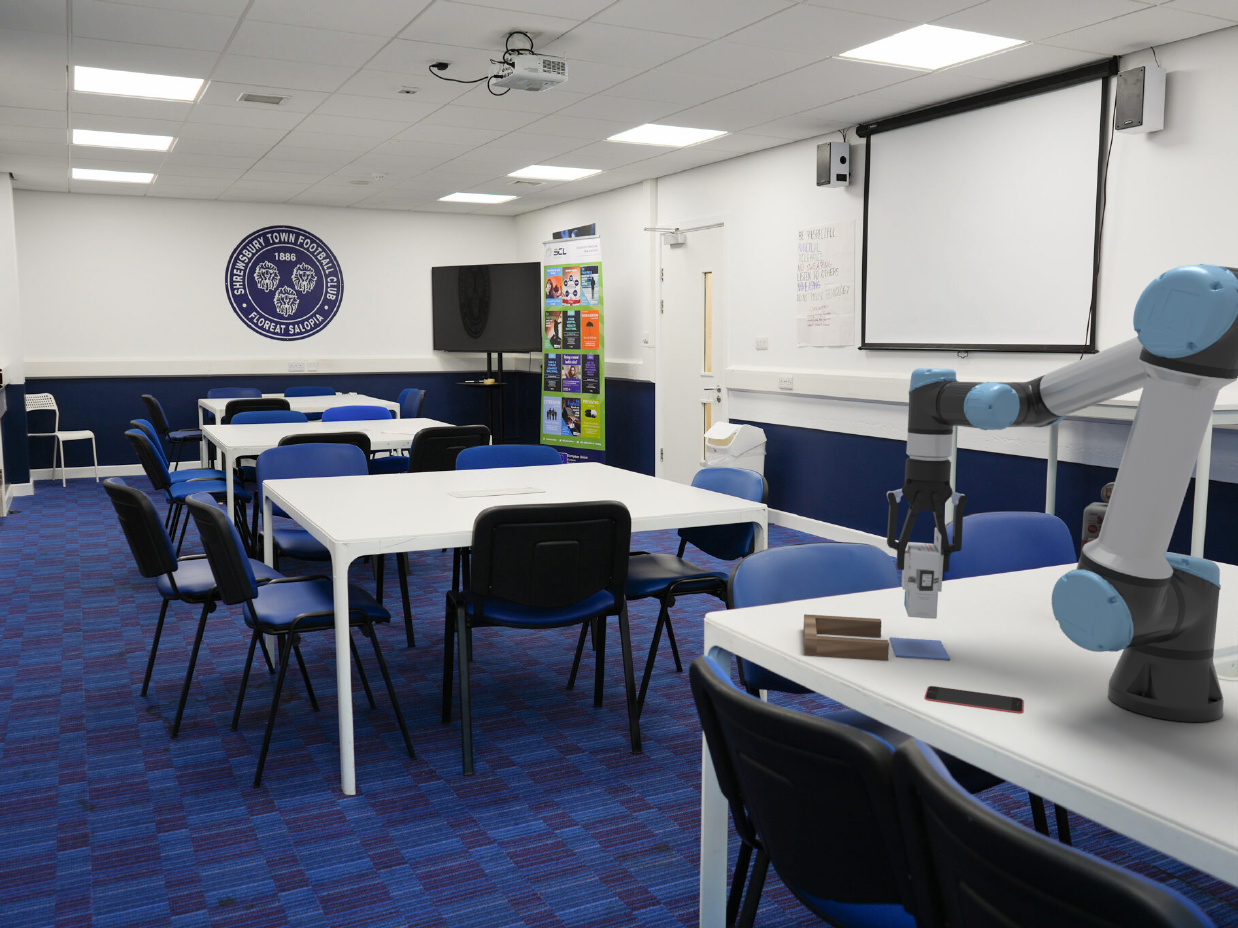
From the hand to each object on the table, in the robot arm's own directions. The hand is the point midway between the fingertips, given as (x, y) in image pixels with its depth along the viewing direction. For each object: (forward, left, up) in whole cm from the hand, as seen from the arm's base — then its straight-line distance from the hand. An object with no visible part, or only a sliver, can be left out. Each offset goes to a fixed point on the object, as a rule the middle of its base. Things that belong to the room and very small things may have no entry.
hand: (921, 588), depth 172 cm
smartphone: (-25, -5, -12) cm, 28 cm away
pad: (0, 0, -11) cm, 11 cm away
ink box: (0, 0, -4) cm, 4 cm away
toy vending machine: (+25, -38, -11) cm, 47 cm away
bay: (0, +13, -11) cm, 17 cm away
